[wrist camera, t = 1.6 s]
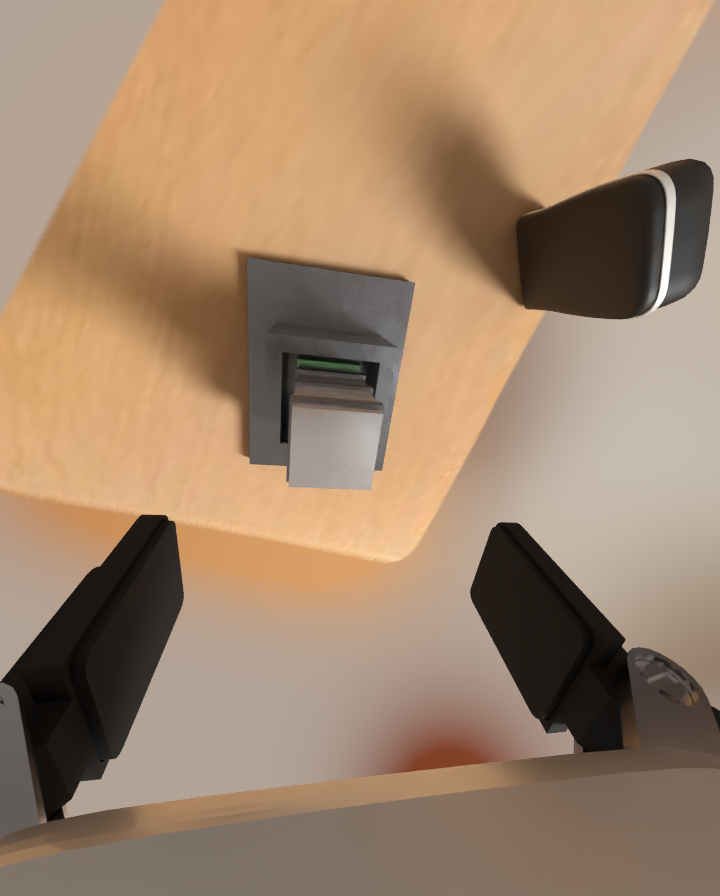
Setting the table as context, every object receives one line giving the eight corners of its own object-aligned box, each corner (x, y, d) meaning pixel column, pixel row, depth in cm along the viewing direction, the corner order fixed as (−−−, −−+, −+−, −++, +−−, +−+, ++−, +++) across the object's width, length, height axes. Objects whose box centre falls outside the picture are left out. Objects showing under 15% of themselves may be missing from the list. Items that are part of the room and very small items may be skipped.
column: (299, 350, 26) (287, 402, 14) (355, 356, 26) (388, 410, 15) (296, 404, 27) (284, 490, 16) (348, 409, 28) (374, 493, 16)
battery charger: (566, 296, 27) (716, 301, 17) (522, 313, 27) (645, 327, 17) (562, 197, 24) (743, 131, 14) (512, 216, 24) (656, 164, 14)
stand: (249, 258, 23) (215, 242, 15) (411, 283, 25) (457, 280, 17) (251, 458, 30) (229, 520, 22) (379, 465, 32) (402, 524, 24)
